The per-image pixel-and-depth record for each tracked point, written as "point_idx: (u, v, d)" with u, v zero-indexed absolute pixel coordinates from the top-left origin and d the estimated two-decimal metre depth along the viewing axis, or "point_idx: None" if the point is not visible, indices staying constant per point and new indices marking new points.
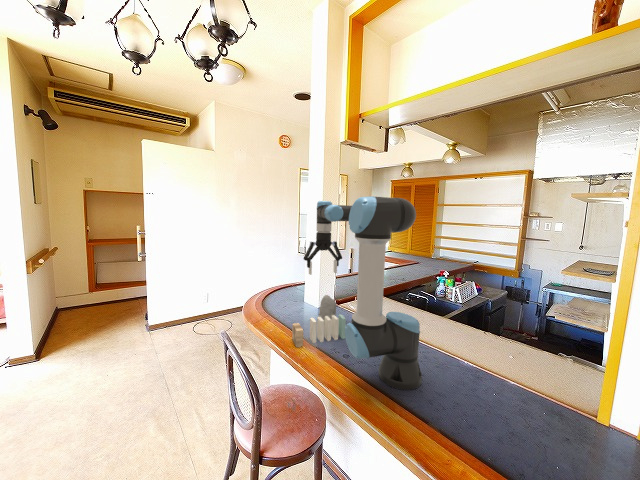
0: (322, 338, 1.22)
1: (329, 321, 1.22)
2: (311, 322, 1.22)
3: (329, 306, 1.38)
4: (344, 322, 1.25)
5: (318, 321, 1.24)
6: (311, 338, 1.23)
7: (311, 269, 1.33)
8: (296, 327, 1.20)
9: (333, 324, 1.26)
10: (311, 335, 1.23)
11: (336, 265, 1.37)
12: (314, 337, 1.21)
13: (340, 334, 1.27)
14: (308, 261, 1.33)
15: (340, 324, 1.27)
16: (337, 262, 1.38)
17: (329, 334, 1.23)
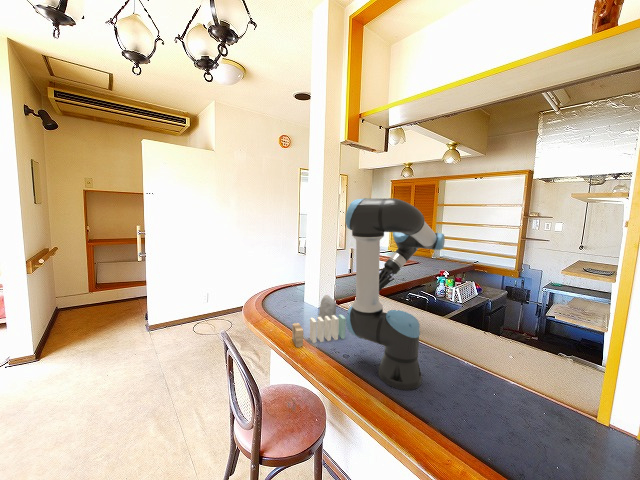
0: (322, 338, 1.22)
1: (329, 321, 1.22)
2: (311, 322, 1.22)
3: (329, 306, 1.38)
4: (344, 322, 1.25)
5: (318, 321, 1.24)
6: (311, 338, 1.23)
7: None
8: (296, 327, 1.20)
9: (333, 324, 1.26)
10: (311, 335, 1.23)
11: None
12: (314, 337, 1.21)
13: (340, 334, 1.27)
14: None
15: (340, 324, 1.27)
16: None
17: (329, 334, 1.23)
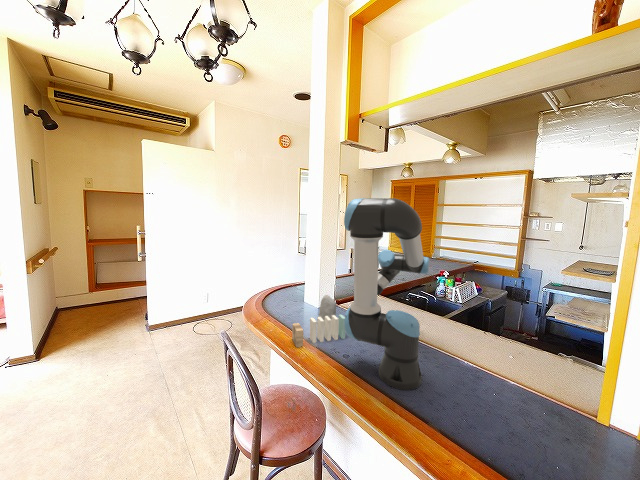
0: (322, 338, 1.22)
1: (329, 321, 1.22)
2: (311, 322, 1.22)
3: (329, 306, 1.38)
4: None
5: (318, 321, 1.24)
6: (311, 338, 1.23)
7: None
8: (296, 327, 1.20)
9: (333, 324, 1.26)
10: (311, 335, 1.23)
11: None
12: (314, 337, 1.21)
13: (340, 334, 1.27)
14: None
15: (340, 324, 1.27)
16: None
17: (329, 334, 1.23)
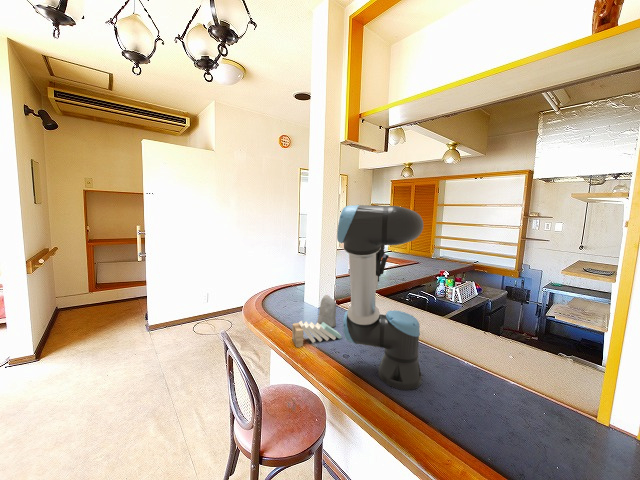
0: (319, 338, 1.22)
1: (314, 328, 1.20)
2: (301, 326, 1.21)
3: (329, 306, 1.38)
4: (328, 329, 1.23)
5: None
6: None
7: (376, 284, 1.30)
8: (296, 327, 1.20)
9: None
10: None
11: (377, 281, 1.30)
12: (311, 338, 1.20)
13: None
14: None
15: None
16: (378, 277, 1.30)
17: (323, 336, 1.22)
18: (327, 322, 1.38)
